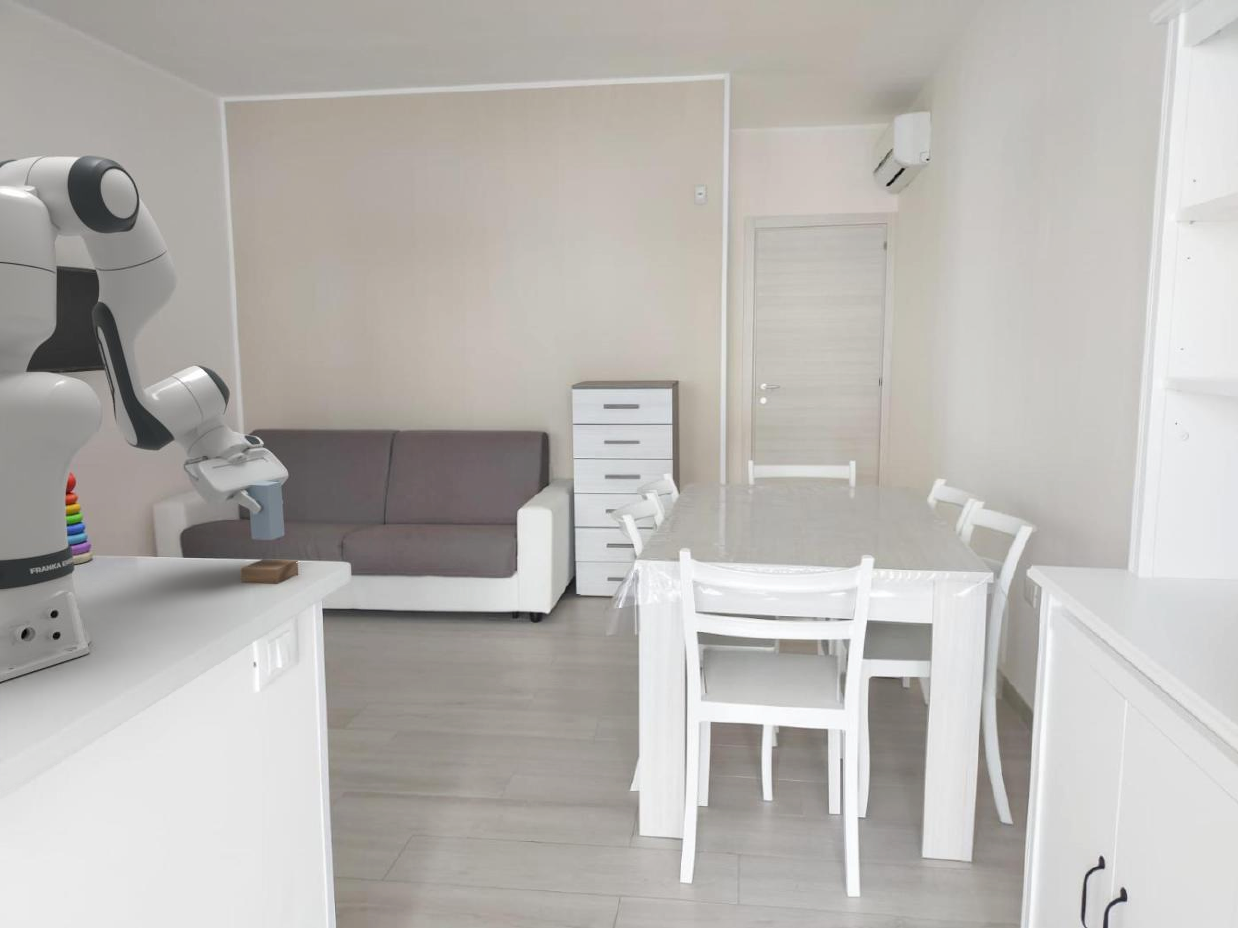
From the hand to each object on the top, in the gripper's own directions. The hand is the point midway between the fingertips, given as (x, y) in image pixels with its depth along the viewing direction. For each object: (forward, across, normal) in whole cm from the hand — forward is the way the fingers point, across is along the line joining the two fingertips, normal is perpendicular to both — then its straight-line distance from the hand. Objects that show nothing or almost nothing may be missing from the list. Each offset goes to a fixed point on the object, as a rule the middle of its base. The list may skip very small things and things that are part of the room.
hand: (269, 508), depth 161 cm
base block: (+9, 0, +10) cm, 13 cm away
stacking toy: (-25, +2, +44) cm, 50 cm away
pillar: (+3, 0, +4) cm, 5 cm away
